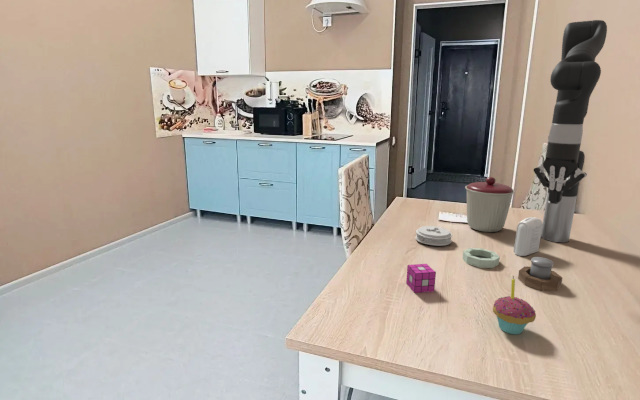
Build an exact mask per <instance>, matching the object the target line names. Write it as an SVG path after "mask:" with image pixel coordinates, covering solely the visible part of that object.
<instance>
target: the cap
mask: <svg viewBox="0 0 640 400" xmlns="http://www.w3.org/2000/svg"><path fill="white" fill-rule="evenodd" d="M530 263H531V265H530V267H531V270H530V276H532V277H535V278H539V279H544V280H550V275H551V271H552V268H553V267H554V261H552V260H551V259H549V258H546V257H542V256H541V257H540V256H534V257H531V259H530Z"/></svg>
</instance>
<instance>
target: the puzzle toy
mask: <svg viewBox="0 0 640 400" xmlns="http://www.w3.org/2000/svg"><path fill="white" fill-rule="evenodd" d="M406 267H407V268H406V281H405V282H406V283H405V284H406V285H407V286H408V288H410V290H411V291H412V292H413V293H414V294H417V293H419V294H420V293H431V292H433V293H434V292H435V288H436V274H437V272H436V271H435V270H434V269H433V268H432V267H431V266H430V265H429V264H428V263H418V264H407V266H406Z"/></svg>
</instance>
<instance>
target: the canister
mask: <svg viewBox="0 0 640 400" xmlns="http://www.w3.org/2000/svg"><path fill="white" fill-rule="evenodd" d="M496 181H497V180H496V178H494V177H493V176H488V177H486V178H485V181H478V182H477V181H475V182H470V183H469V184H467V185H465V187H464V189H465V190H466V221H467V225H468V226H469V228H471V229H473V230H475V231H479V232H484V233H497V232H499V231H500V232H501V230H502V229H504V227H505V224H506V220H507V218H508V217H507V216H508V213H509V211H510V205H511V203H512V199H513V196H514V194H515V193H516V191H515V189H513V188H512V187H511V186H510V185H506V184H503V183H499V182H496Z"/></svg>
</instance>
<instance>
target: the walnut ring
mask: <svg viewBox="0 0 640 400" xmlns="http://www.w3.org/2000/svg"><path fill="white" fill-rule="evenodd" d="M530 270H531V266H523V267H522V268H521V269H519V270H518V276H517V279H518V280H519V281H520V282H521V283H522V284H523V285H524V286H525V287H526V286H527V287H528V288H529V287H530V288H533V289H535V290H539V291H551V292H552V291H553V292H555V291H558V289H560V287H562V283H563V277H562V276H561V275H560V274H558V272H556V271H555V270H551V275H550V280H544V279H539V278H535V277H532V276H530Z"/></svg>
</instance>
